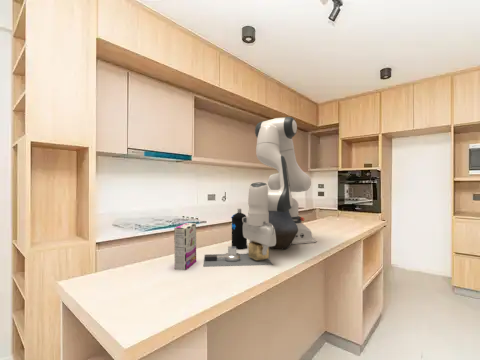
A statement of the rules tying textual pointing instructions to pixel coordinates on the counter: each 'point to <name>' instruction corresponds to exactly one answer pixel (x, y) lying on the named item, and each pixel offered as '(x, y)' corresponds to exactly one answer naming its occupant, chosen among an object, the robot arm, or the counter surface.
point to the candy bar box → (185, 246)
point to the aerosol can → (238, 231)
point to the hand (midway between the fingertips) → (258, 252)
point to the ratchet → (225, 256)
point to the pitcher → (283, 229)
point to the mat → (244, 261)
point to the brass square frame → (257, 251)
